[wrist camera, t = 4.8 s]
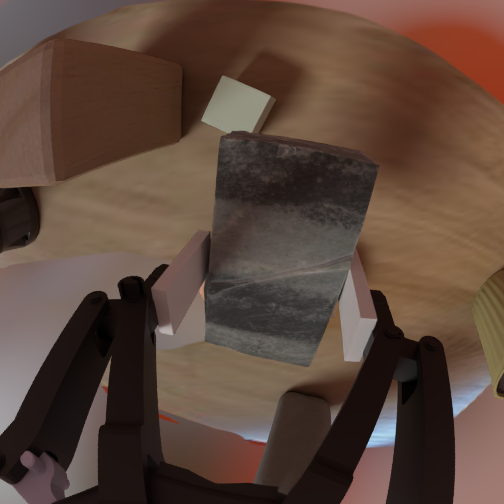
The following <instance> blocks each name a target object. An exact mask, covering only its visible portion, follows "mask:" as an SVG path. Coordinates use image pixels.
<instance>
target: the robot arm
mask: <svg viewBox="0 0 504 504" xmlns="http://www.w3.org/2000/svg"><path fill="white" fill-rule="evenodd" d="M38 231H39V215H38V209H37V205H36V201H35V198H34V196H33V193H32V191H31V189H30V187H13V188H0V253H2V252H4V251H8V250H12V249H17V248H22V247H25V246H27V245H29V244H30V243H32V242H33V241H34V240H35V239H36V238H37V235H38ZM210 248H211V240H210V231H203V230H199V231H198V232H197V233H196V234H195V235H194V236H193V238H192V239H191V240H190V241H189V242H188V244H187V245H186V246H185V247H184V248H183V250H182V251H181V252H180V253H179V254H178V256H177V257H176V258H175V259H174V260H173V262H172V263H171V264H170V265H167V264H162V265H160V266H159V267H157V268H155V270H154V271H153V272H152V274H150V275H149V277H148V278H147V279H146V280H145V281H144V280H143V279H142V278H141V277H138V276H129V277H126V278H123V279H122V280H120V281H119V283H118V288H119V292H120V296H121V299H108V297H107V294H106V293H105V292H102V291H94V292H92V293H90V294H88V295H87V296H86V297H85V298H84V299H83V301H82V302H81V304H80V305H79V307H78V308H77V310H76V311H75V313H74V314H73V316H72V317H71V319H70V320H69V322H68V323H67V325H66V327H65V328H64V330H63V331H62V333H61V334H60V336H59V338H58V339H57V341H56V342H55V344H54V346H53V348H52V349H51V351H50V352H49V354H48V356H47V358H46V360H45V361H44V363H43V365H42V366H41V368H40V370H39V372H38V374H37V375H36V377H35V379H34V381H33V383H32V385H31V387H30V389H29V391H28V393H27V395H26V397H25V399H24V401H23V403H22V405H21V407H20V409H19V411H18V413H17V415H16V418H15V420H14V421H13V422H12V423H11V424H10V426H8V428H7V429H6V430H5V431H4V432H3V433H2V434H1V436H0V479H2V480H4V481H5V482H7V483H8V484H10V485H12V486H13V487H14V488H15V489H16V490H17V492H18V493H19V494H20V495H21V496H22V497H23V498H24V499H25V500H26V502H27V503H28V504H340V503H341V501H342V500H343V498H344V496H345V494H346V493H347V491H348V489H349V487H350V485H351V483H352V481H353V473H354V470H355V469H356V467H357V464H358V463H359V461H360V458H361V456H362V454H363V452H364V450H365V448H366V446H367V444H368V441H369V439H370V437H371V435H372V432H373V430H374V427H375V425H376V423H377V420H378V418H379V415H380V413H381V410H382V407H383V405H384V402H385V399H386V396H387V394H388V391H389V388H390V385H391V382H392V379H394V380H397V381H398V402H397V422H396V435H395V446H394V455H393V464H392V471H391V478H390V484H389V489H388V495H387V500H386V504H453V496H454V481H455V436H454V419H453V407H452V398H451V390H450V382H449V376H448V369H447V363H446V358H445V353H444V347H443V345H442V343H441V342H440V341H439V340H438V339H436V338H435V337H432V336H424V337H422V338H421V339H420V341H419V342H417V341H413V340H410V339H407V338H405V337H404V333H403V332H402V330H401V329H400V328H399V327H397V326H395V324H394V321H393V318H392V315H391V312H390V309H389V306H388V304H387V300H386V297H385V296H384V295H383V293H382V292H381V291H378V290H369V287H368V283H367V280H366V277H365V274H364V270H363V267H362V264H361V261H360V258H359V255H358V252H357V249H356V248H355V250H354V253H353V260H352V264H351V267H350V269H349V270H348V273H347V276H346V279H345V281H344V284H343V287H342V289H341V292H340V294H339V297H338V301H339V309H340V318H341V328H342V338H343V349H344V361H353V362H360V360H361V357H362V355H363V357H364V362H363V364H362V366H361V368H360V370H359V372H358V375H357V377H356V379H355V381H354V383H353V385H352V387H351V390H350V392H349V394H348V395H347V397H346V399H345V401H344V403H343V405H342V407H341V409H340V411H339V413H338V415H337V416H336V418H335V420H334V422H333V424H332V425H331V427H330V429H329V431H328V432H327V434H326V436H325V437H324V439H323V441H322V442H321V444H320V446H319V447H318V449H317V451H316V452H315V454H314V455H313V457H312V458H311V460H310V462H309V463H308V465H307V466H306V468H305V469H304V471H303V472H302V474H301V475H300V476H299V478H298V479H297V481H296V482H295V483H294V485H293V486H292V487H291V489H290V490H289V491H288V493H287V494H283V493H281V492H278V487H277V486H268V485H260V484H253V483H231V484H217V483H213V482H211V481H209V480H207V479H205V478H203V477H201V476H199V475H197V474H195V473H193V472H191V471H190V470H187V469H184V468H181V467H177V466H174V465H171V464H167V463H165V461H164V457H163V454H162V447H161V438H160V427H159V414H158V398H157V375H156V334H155V329H156V327H157V325H159V330H160V333H164V334H169V335H173V336H174V334H175V332H176V330H177V328H178V327H179V325H180V323H181V321H182V319H183V318H184V316H185V314H186V312H187V311H188V309H189V307H190V305H191V304H192V302H193V300H194V298H195V296H196V295H197V293H198V291H199V289H200V288H201V286H202V284H203V282H204V281H205V279H206V277H207V275H208V274H209V263H210ZM111 355H112V357H111ZM110 358H111V365H110V374H109V384H108V395H107V409H106V422H105V425H102V426H101V427H100V428H99V434H98V485H97V486H95V487H92V488H90V489H87V490H85V491H83V492H80V493H77V494H75V495H72V496H69V497H67V498H65V495H64V490H66V489H68V487H69V484H70V483H69V480H68V479H67V474H66V471H67V469H68V467H69V465H70V463H71V461H72V459H73V457H74V454H75V451H76V448H77V445H78V442H79V439H80V436H81V433H82V430H83V427H84V424H85V421H86V418H87V416H88V413H89V410H90V408H91V405H92V402H93V400H94V397H95V394H96V392H97V389H98V387H99V384H100V382H101V379H102V377H103V374H104V372H105V370H106V367H107V365H108V362H109V360H110Z"/></svg>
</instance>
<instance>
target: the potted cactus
mask: <svg viewBox="0 0 504 504" xmlns="http://www.w3.org/2000/svg"><path fill="white" fill-rule="evenodd" d="M472 315H473V319H474V322H475V325H476V328H477V331H478V334H479V337H480V340H481V343H482V347H483V350H484V353H485V357H486V361H487V364H488V368H489V372H490V376H491V381H492V385H493V389H494V396H495V397H496V398H498V399H504V269H503V270H501V271H498V272H497V273H495V274H494V275H493V276H491V277H490V278H489V279H488V280H487V281H486V282H485V283H484V285H483V286H482V287H481V289H480V290H479V292H478V294H477V296H476V298H475V300H474V303H473V308H472Z"/></svg>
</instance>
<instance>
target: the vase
mask: <svg viewBox="0 0 504 504" xmlns="http://www.w3.org/2000/svg"><path fill="white" fill-rule="evenodd" d="M330 427H331V411H330V407H329V405H328V404H327V402H326V401H324V400H322V399H320V398H317V397H311V396H306V395H303V394H300V393H296V392H289V393H285V394H284V395H282V396H281V398H280V400H279V403H278V406H277V410H276V414H275V418H274V421H273V424H272V428H271V431H270V434H269V438H268V441H267V444H266V447H265V450H264V453H263V456H262V459H261V462H260V465H259V468H258V471H257V474H256V477H255V480H254V483H253V484H260V485H268V486H277V487H278V492H281V493H283V494H287V493H288V491H289V490H290V489H291V487H292V486H293V485H294V483H295V482H296V481H297V479H298V478H299V476H300V475H301V474H302V472H303V471H304V469H305V468H306V466H307V465H308V463H309V462H310V460H311V458H312V457H313V455H314V454H315V452H316V451H317V449H318V447H319V446H320V444H321V442H322V441H323V439H324V437H325V436H326V434H327V432H328V431H329V429H330Z"/></svg>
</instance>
